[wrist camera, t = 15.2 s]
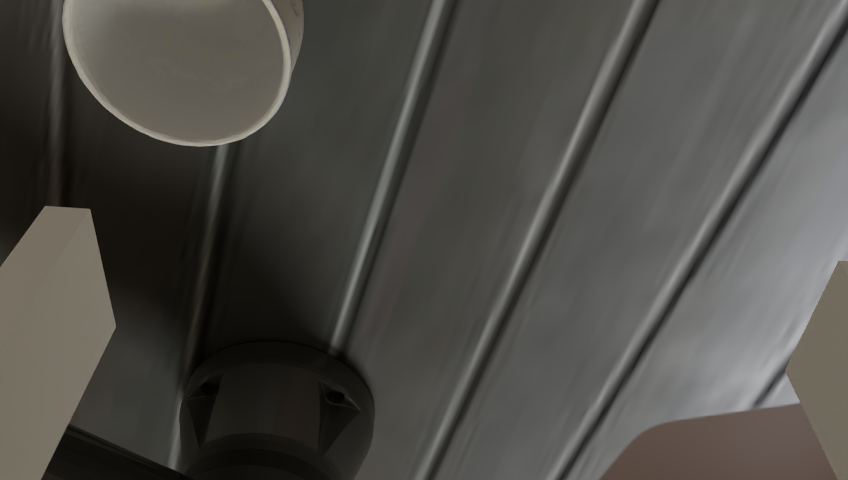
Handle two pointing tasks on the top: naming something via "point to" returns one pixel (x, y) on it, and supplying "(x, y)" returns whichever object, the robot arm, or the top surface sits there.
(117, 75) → the teacup
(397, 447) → the top surface
